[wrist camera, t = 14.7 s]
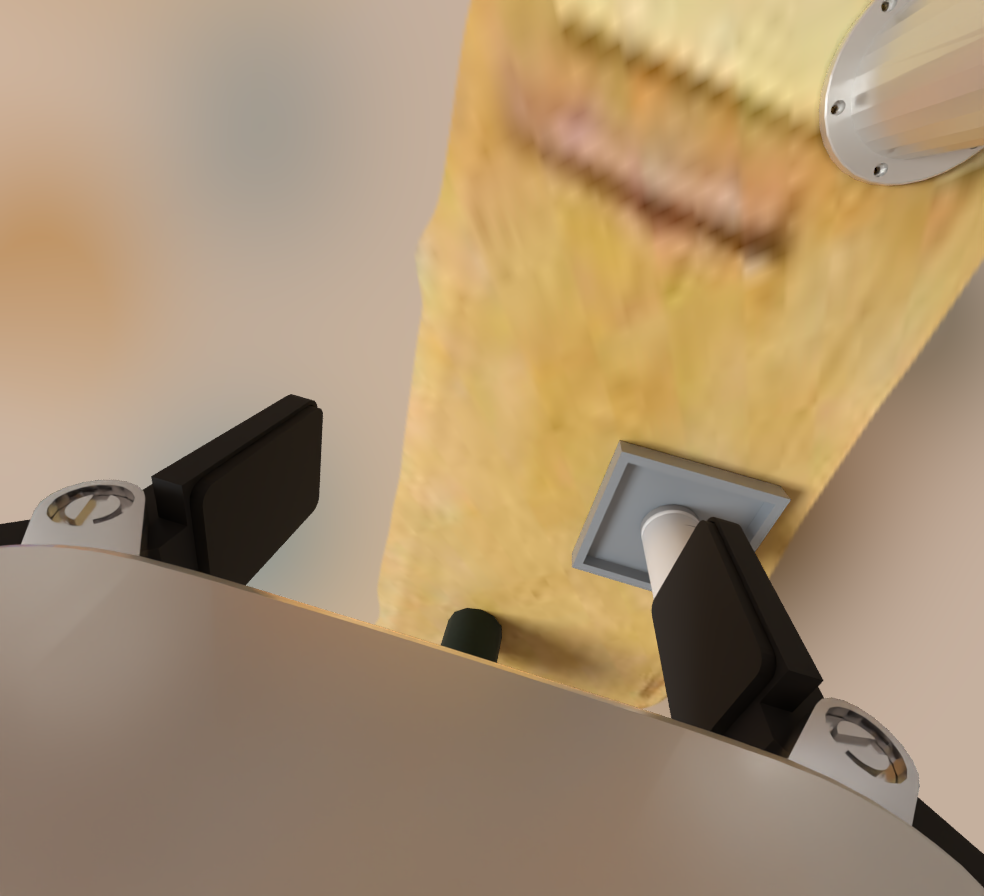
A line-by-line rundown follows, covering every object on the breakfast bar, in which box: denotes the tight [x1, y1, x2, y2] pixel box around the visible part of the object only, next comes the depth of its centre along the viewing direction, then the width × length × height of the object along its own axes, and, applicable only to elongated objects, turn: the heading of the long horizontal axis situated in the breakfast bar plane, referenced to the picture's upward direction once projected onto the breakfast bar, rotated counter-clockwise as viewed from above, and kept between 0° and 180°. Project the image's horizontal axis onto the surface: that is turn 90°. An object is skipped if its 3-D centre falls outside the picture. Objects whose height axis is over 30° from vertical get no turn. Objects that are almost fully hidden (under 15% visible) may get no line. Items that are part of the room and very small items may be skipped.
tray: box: [572, 441, 791, 591], centre depth 48 cm, size 16×17×2 cm
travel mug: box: [640, 505, 700, 598], centre depth 40 cm, size 6×7×20 cm
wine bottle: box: [441, 608, 502, 663], centre depth 50 cm, size 8×10×30 cm
